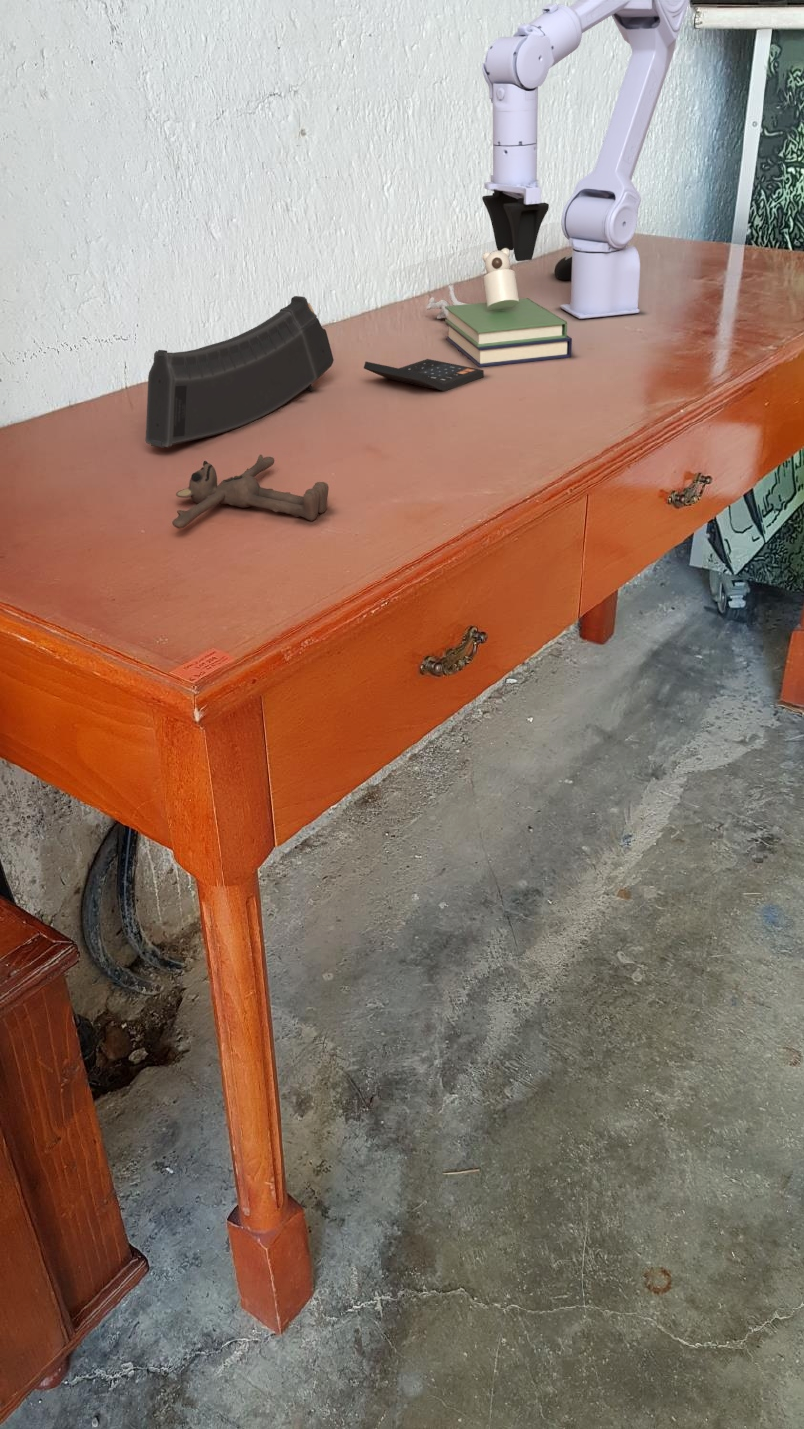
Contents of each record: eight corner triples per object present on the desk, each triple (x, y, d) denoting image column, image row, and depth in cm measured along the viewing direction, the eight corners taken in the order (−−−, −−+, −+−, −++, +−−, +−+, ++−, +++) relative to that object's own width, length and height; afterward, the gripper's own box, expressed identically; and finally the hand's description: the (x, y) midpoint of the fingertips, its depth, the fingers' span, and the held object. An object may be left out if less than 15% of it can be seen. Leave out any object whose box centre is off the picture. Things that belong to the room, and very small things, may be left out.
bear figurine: (274, 522, 97) (128, 488, 101) (275, 567, 99) (132, 533, 103) (361, 453, 111) (229, 426, 115) (360, 494, 113) (231, 467, 117)
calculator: (483, 377, 142) (483, 352, 141) (420, 399, 135) (420, 374, 134) (427, 365, 148) (426, 341, 146) (364, 386, 141) (363, 362, 139)
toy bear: (489, 312, 154) (481, 258, 153) (520, 306, 153) (512, 252, 153) (486, 303, 149) (478, 248, 149) (518, 297, 149) (510, 241, 148)
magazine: (140, 379, 114) (304, 237, 130) (116, 376, 116) (281, 236, 131) (195, 517, 126) (339, 372, 142) (173, 512, 128) (317, 369, 143)
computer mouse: (630, 279, 187) (631, 253, 185) (557, 282, 188) (557, 256, 186) (623, 270, 194) (624, 245, 192) (552, 273, 194) (553, 248, 192)
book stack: (531, 330, 161) (531, 297, 159) (571, 357, 148) (572, 322, 146) (445, 339, 159) (444, 306, 157) (478, 367, 146) (478, 332, 144)
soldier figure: (458, 321, 172) (512, 306, 162) (446, 349, 171) (500, 335, 161) (422, 289, 167) (476, 271, 158) (410, 317, 166) (462, 301, 157)
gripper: (468, 141, 153) (470, 248, 160) (503, 151, 141) (503, 267, 148) (518, 137, 154) (518, 244, 162) (557, 147, 142) (554, 262, 150)
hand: (514, 255), depth 155 cm, fingers open, 7 cm apart
